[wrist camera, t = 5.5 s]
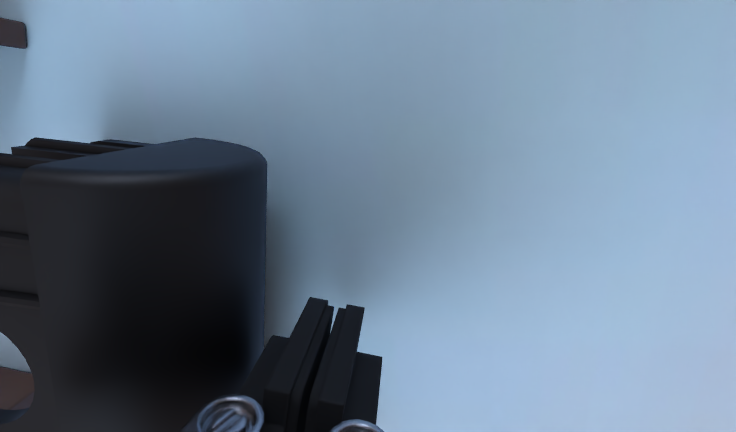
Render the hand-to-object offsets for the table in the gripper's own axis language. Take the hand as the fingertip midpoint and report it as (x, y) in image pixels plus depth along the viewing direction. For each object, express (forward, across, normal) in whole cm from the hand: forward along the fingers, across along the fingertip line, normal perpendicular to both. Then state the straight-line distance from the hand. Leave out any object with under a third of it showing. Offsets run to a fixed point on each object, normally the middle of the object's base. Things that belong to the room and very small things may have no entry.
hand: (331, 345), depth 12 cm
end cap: (+3, +5, 0) cm, 6 cm away
